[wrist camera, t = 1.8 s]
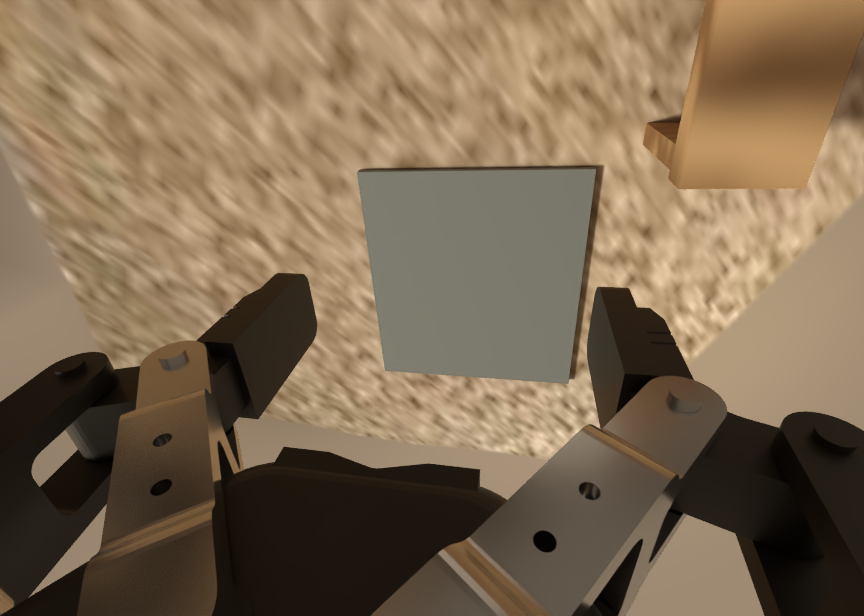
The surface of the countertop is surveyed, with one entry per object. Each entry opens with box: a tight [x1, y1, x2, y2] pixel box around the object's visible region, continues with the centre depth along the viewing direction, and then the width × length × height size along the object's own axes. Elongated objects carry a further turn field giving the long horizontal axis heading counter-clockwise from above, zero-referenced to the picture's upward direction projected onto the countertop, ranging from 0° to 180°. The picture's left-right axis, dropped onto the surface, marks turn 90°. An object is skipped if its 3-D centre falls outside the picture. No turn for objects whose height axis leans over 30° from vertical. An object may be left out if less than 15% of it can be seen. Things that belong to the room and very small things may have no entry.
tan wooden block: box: [643, 0, 864, 189], centre depth 24 cm, size 12×6×9 cm, turn 3°
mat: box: [357, 167, 596, 384], centre depth 39 cm, size 20×18×1 cm
